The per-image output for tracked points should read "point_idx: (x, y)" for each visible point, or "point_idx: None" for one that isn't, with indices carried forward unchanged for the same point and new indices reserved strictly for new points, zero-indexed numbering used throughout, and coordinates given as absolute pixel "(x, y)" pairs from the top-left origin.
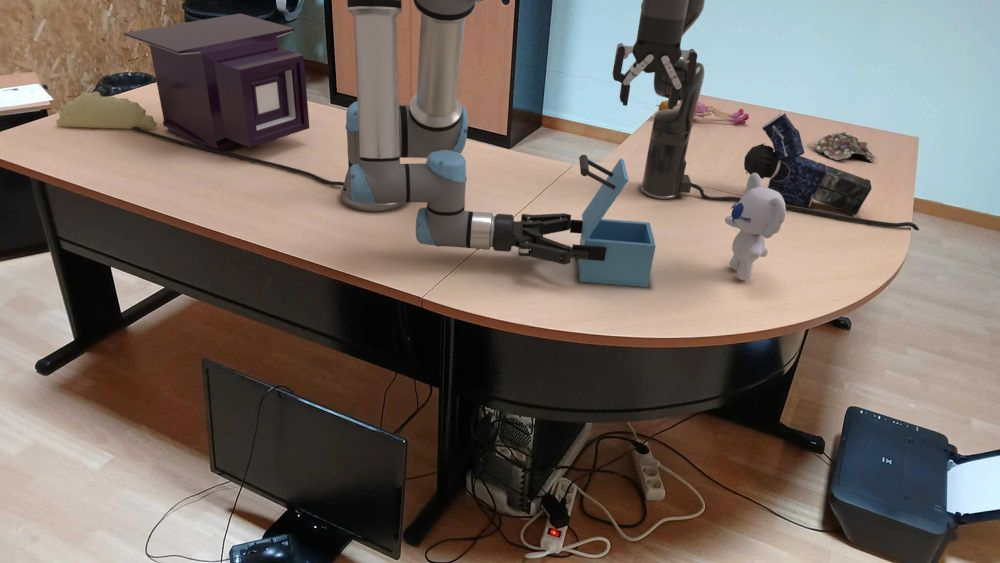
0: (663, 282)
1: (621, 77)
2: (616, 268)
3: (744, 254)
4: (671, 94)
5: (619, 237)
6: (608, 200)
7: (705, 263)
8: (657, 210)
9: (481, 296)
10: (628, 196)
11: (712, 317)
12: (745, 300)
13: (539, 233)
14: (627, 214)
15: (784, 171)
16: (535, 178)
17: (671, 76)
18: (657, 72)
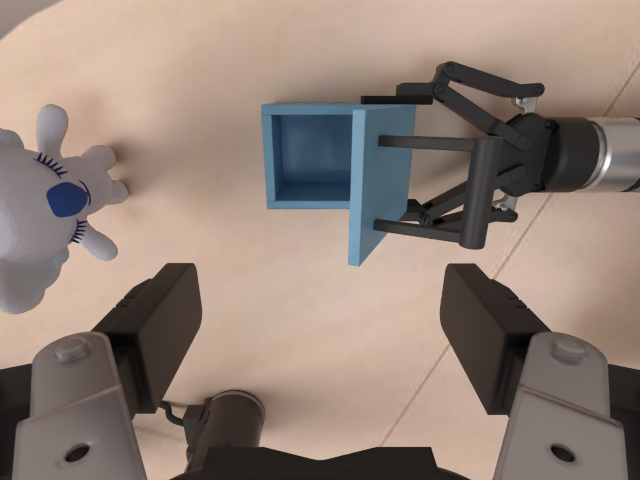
0: (244, 125)
1: (634, 397)
2: (333, 103)
3: (86, 157)
4: (158, 316)
5: (323, 191)
6: (390, 115)
7: (170, 201)
8: (242, 356)
9: (574, 20)
10: (286, 391)
11: (163, 14)
12: (104, 86)
13: (498, 134)
14: (291, 337)
15: None
16: (429, 421)
17: (99, 404)
18: (277, 459)
